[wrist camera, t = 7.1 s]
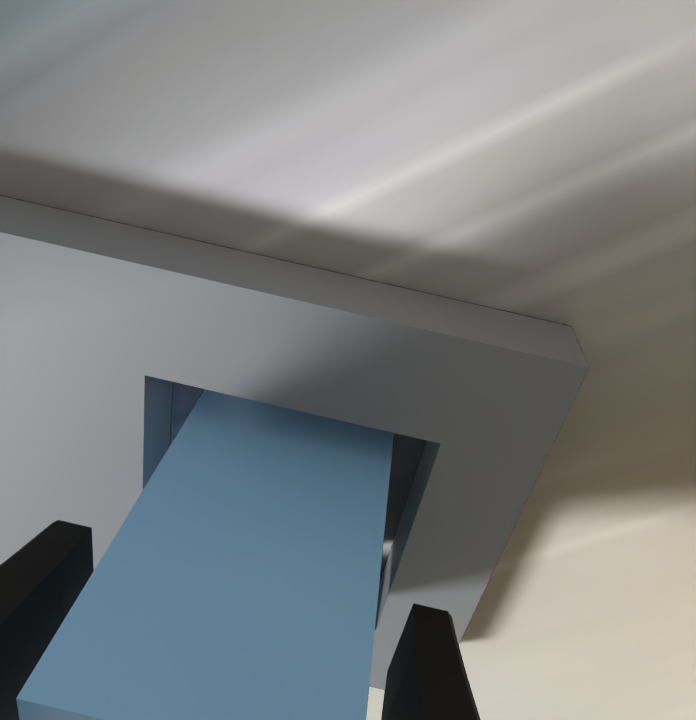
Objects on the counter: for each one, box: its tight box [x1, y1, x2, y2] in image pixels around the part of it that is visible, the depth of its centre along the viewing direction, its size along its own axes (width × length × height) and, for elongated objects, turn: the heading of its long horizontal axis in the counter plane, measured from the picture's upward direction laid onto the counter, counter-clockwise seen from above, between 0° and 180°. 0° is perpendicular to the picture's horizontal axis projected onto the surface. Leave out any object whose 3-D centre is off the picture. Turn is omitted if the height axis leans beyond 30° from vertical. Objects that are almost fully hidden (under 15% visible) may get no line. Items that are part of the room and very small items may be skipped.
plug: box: [16, 389, 394, 720], centre depth 11 cm, size 4×4×7 cm
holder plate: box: [0, 196, 589, 690], centre depth 13 cm, size 10×19×2 cm, turn 79°
